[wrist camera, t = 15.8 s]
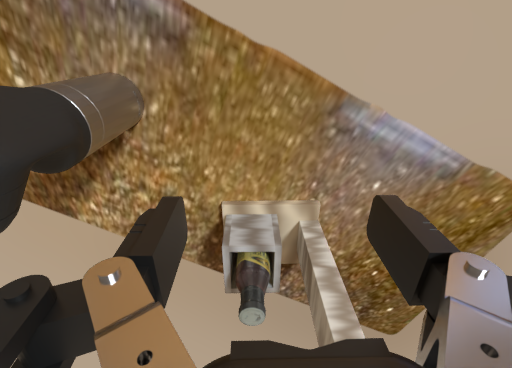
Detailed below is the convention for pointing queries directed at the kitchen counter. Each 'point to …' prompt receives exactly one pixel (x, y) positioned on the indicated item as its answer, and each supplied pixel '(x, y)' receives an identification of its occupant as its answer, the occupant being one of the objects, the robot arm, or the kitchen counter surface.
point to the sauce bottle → (252, 285)
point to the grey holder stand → (291, 258)
